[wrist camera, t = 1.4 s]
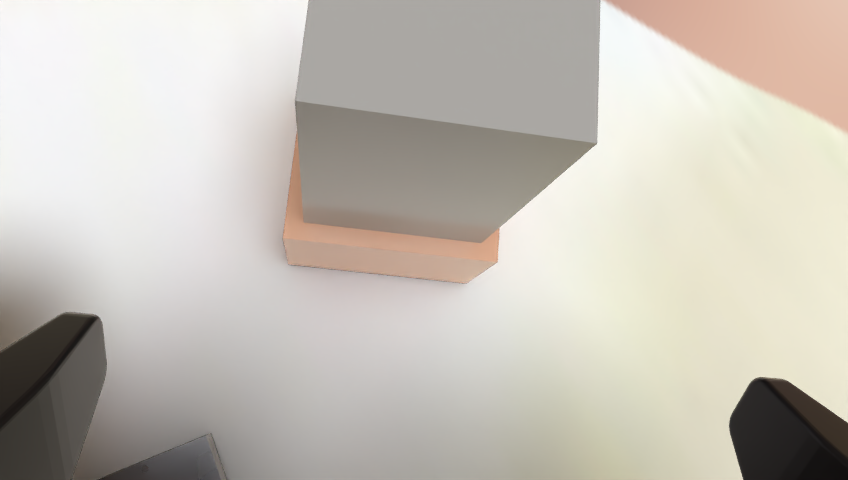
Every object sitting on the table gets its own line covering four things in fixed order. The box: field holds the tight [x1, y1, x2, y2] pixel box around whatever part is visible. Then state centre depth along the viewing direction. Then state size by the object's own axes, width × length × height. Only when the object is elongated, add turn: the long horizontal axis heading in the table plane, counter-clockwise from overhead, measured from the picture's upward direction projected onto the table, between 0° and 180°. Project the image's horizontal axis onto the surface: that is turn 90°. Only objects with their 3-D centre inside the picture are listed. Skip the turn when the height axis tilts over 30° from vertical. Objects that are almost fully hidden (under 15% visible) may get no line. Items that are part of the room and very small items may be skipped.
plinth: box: [283, 134, 499, 283], centre depth 21 cm, size 6×6×4 cm
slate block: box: [295, 0, 600, 243], centre depth 15 cm, size 5×5×8 cm
